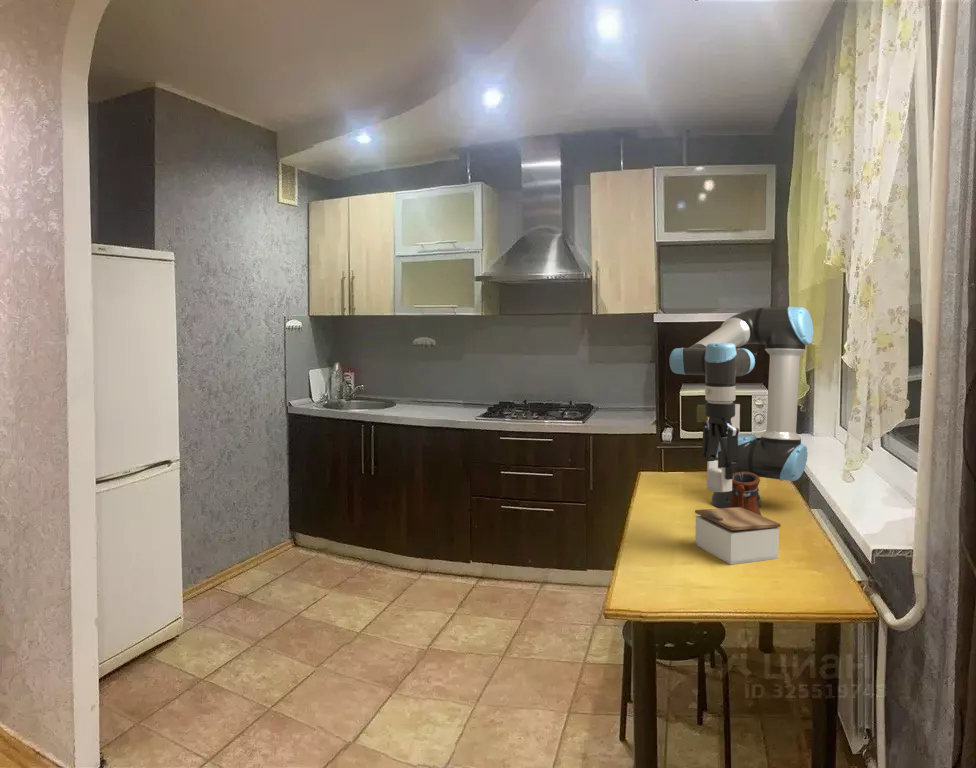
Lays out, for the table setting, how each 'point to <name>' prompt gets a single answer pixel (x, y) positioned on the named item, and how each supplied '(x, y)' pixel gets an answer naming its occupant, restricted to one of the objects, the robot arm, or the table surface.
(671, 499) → the table surface
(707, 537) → the box
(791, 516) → the table surface
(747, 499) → the mug
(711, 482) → the grey squat drum
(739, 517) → the lid
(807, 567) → the table surface
